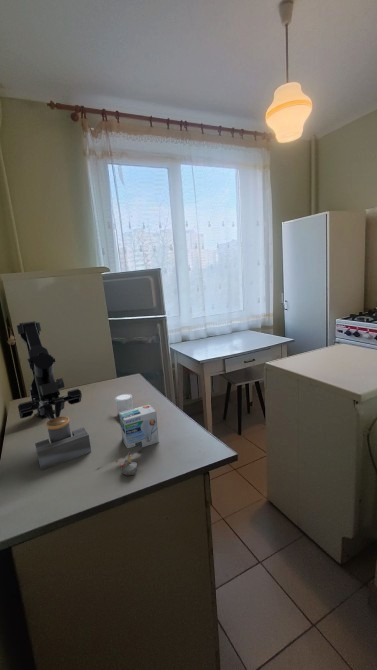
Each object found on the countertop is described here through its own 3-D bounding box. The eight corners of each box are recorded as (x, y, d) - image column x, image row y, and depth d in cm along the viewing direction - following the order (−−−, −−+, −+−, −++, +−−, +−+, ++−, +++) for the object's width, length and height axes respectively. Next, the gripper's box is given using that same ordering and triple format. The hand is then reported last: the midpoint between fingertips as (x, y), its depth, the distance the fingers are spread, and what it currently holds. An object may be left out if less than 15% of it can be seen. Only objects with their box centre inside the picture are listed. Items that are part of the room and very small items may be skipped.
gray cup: (50, 450, 92) (44, 420, 91) (71, 442, 96) (66, 414, 94) (53, 459, 87) (48, 428, 85) (76, 451, 91) (71, 421, 89)
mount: (31, 449, 96) (27, 429, 95) (81, 432, 105) (78, 414, 104) (38, 478, 82) (34, 455, 80) (96, 455, 90) (93, 434, 89)
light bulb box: (127, 453, 90) (123, 420, 88) (122, 443, 96) (118, 412, 94) (160, 442, 95) (156, 410, 93) (152, 433, 101) (149, 403, 99)
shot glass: (130, 417, 114) (128, 400, 112) (113, 417, 115) (111, 400, 114) (136, 409, 120) (135, 393, 119) (121, 409, 122) (119, 393, 120)
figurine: (138, 476, 79) (134, 454, 79) (121, 480, 78) (118, 458, 78) (137, 467, 84) (134, 446, 84) (122, 470, 83) (118, 450, 83)
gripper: (12, 379, 89) (22, 426, 82) (76, 365, 99) (89, 406, 92) (15, 396, 97) (24, 440, 90) (74, 382, 107) (86, 421, 100)
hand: (57, 426), depth 93 cm, fingers closed, pressing on gray cup
